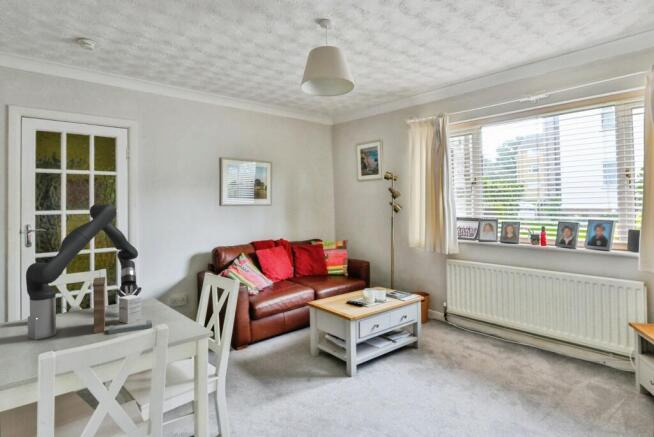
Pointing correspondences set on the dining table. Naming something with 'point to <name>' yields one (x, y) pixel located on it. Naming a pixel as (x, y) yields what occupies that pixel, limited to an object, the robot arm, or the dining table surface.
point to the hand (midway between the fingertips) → (129, 304)
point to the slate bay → (130, 328)
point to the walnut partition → (99, 304)
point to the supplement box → (129, 309)
